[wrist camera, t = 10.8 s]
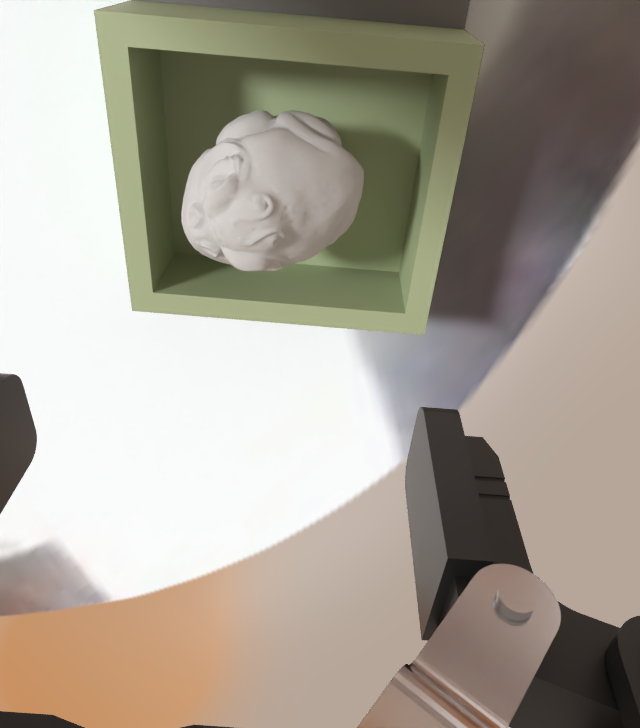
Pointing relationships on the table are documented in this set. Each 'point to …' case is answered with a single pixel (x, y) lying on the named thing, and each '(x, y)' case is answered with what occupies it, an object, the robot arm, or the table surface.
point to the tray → (276, 95)
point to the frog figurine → (271, 191)
